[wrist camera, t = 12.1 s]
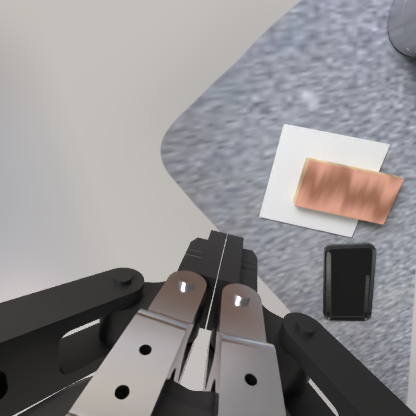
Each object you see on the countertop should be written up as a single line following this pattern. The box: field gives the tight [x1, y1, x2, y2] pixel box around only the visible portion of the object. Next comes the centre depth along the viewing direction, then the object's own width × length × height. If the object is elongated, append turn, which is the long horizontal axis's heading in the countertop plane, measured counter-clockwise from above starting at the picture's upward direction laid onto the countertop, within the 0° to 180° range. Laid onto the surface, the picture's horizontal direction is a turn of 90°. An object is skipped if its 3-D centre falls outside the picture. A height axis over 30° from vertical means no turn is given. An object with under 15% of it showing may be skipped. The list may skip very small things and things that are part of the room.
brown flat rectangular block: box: [293, 157, 404, 225], centre depth 42 cm, size 7×2×13 cm
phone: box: [323, 243, 376, 321], centre depth 48 cm, size 8×1×15 cm
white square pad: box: [259, 124, 390, 237], centre depth 43 cm, size 15×15×1 cm
